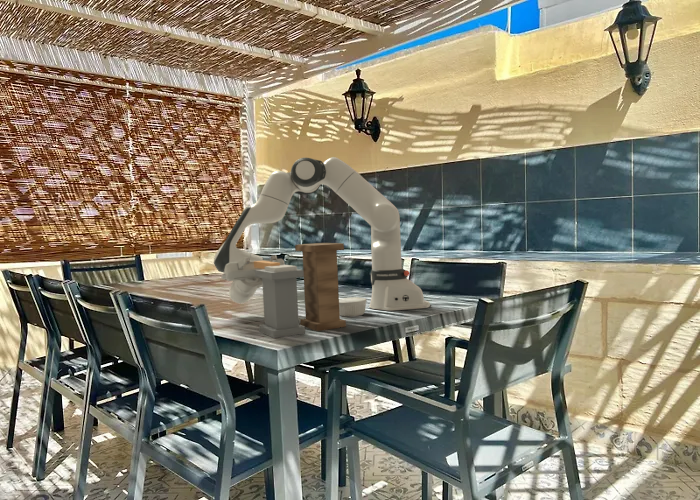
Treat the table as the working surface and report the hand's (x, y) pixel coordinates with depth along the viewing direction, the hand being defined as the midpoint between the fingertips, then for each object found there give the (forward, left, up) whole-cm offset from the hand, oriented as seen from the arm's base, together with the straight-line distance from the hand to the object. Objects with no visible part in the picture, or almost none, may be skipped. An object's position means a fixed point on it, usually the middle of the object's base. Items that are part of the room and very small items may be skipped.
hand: (261, 258), depth 176 cm
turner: (-4, +7, -3) cm, 9 cm away
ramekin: (-28, -14, -22) cm, 39 cm away
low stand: (-7, +12, -22) cm, 26 cm away
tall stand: (-19, +5, -22) cm, 30 cm away
